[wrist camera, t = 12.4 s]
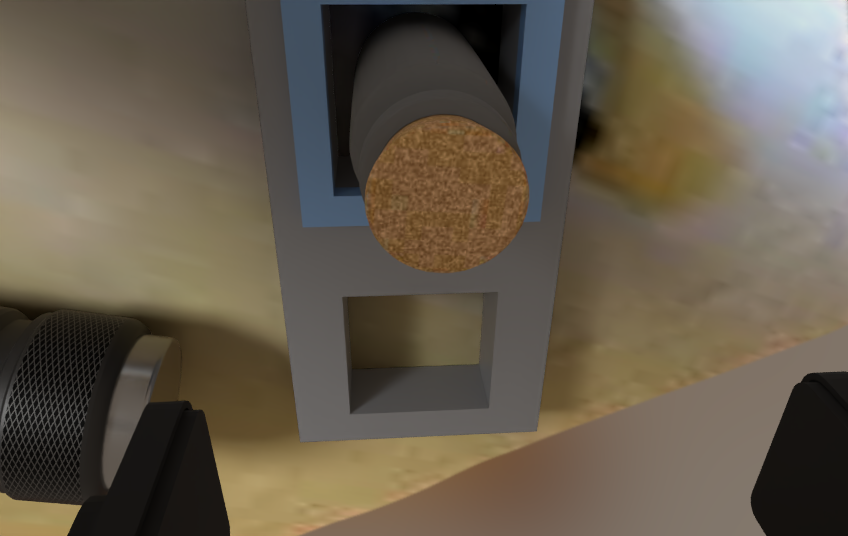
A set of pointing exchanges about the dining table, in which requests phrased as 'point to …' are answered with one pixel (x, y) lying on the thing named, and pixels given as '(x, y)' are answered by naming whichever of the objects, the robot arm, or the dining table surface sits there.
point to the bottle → (434, 147)
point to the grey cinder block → (379, 271)
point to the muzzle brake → (75, 399)
